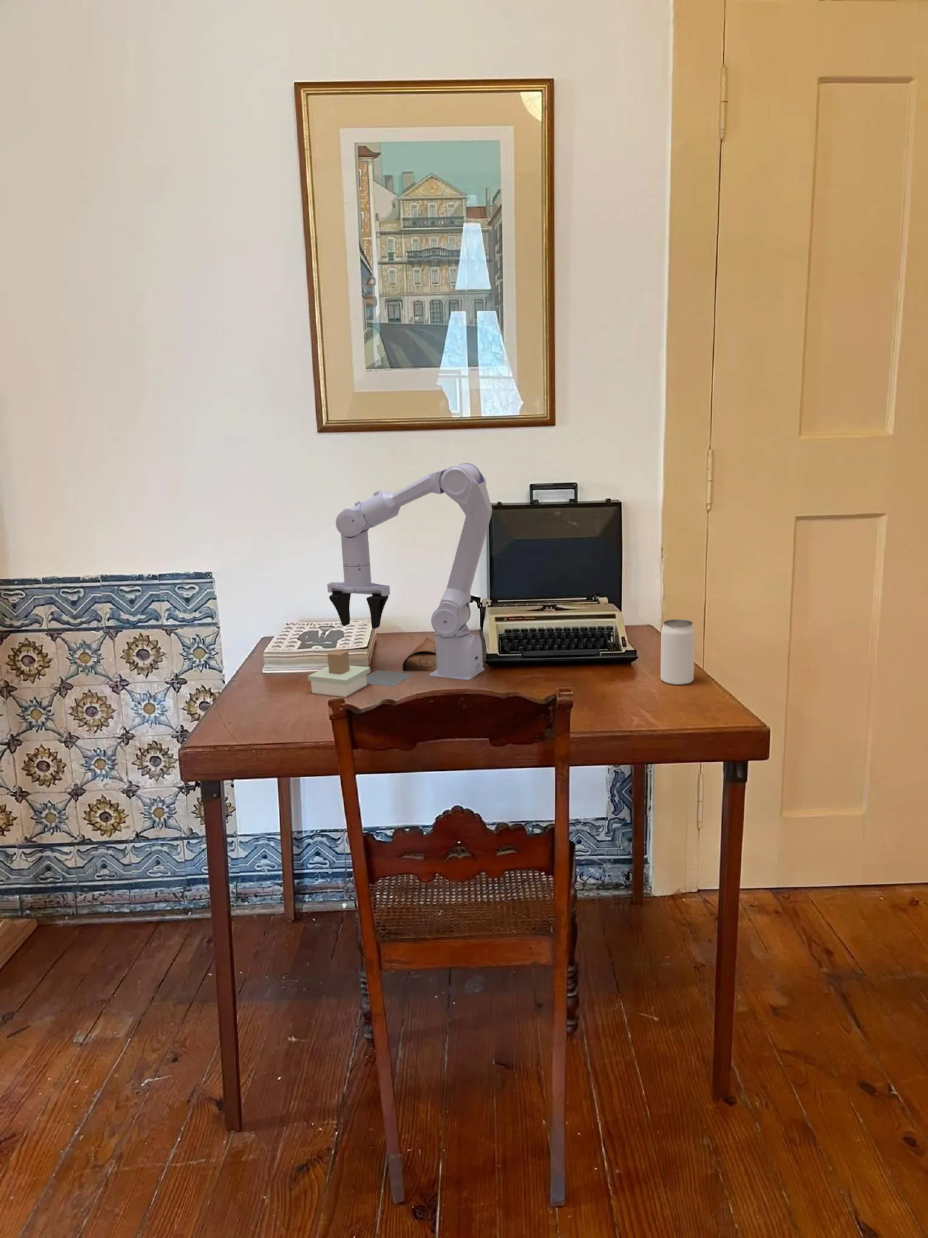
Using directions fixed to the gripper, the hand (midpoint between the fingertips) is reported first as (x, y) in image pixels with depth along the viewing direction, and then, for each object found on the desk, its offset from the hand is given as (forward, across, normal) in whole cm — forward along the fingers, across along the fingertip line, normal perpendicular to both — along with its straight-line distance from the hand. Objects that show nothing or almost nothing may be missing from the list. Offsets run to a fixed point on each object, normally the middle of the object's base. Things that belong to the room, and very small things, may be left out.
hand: (360, 626), depth 188 cm
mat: (+10, +8, -4) cm, 14 cm away
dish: (+10, +3, -14) cm, 17 cm away
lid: (+7, +3, -14) cm, 16 cm away
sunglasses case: (+11, +11, +11) cm, 19 cm away
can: (+10, +65, +14) cm, 67 cm away
